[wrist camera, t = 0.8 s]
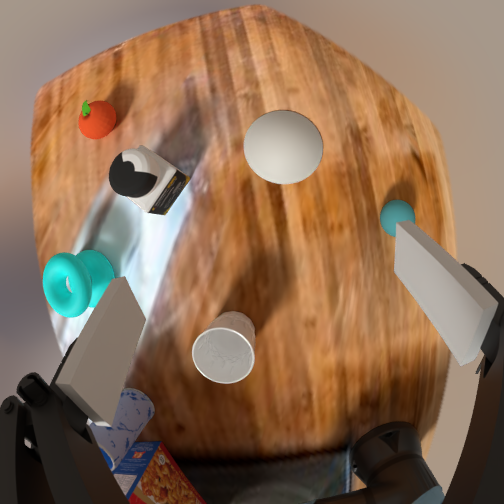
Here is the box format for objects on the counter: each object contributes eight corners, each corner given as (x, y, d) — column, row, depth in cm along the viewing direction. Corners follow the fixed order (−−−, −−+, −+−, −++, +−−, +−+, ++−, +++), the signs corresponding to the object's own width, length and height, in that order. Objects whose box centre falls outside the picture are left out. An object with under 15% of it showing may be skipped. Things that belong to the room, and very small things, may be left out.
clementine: (86, 120, 44) (65, 108, 37) (114, 98, 43) (95, 82, 36) (98, 151, 44) (75, 141, 37) (128, 127, 43) (108, 114, 36)
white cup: (237, 297, 44) (227, 315, 34) (269, 336, 44) (267, 363, 34) (199, 325, 44) (179, 348, 35) (229, 362, 45) (218, 393, 35)
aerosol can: (127, 419, 47) (80, 479, 27) (113, 387, 47) (56, 442, 27) (160, 420, 47) (118, 488, 27) (146, 387, 46) (92, 450, 26)
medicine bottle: (165, 216, 44) (129, 211, 32) (134, 191, 44) (93, 180, 32) (191, 178, 43) (163, 160, 31) (158, 155, 43) (123, 133, 31)
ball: (411, 214, 41) (427, 213, 35) (395, 243, 41) (410, 245, 36) (385, 194, 41) (399, 189, 35) (368, 223, 41) (381, 222, 36)
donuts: (32, 270, 36) (67, 241, 35) (67, 264, 46) (103, 239, 45) (56, 328, 36) (94, 305, 35) (89, 313, 46) (127, 292, 45)
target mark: (336, 137, 41) (336, 136, 41) (296, 199, 42) (296, 199, 42) (270, 98, 41) (270, 98, 41) (228, 157, 42) (228, 157, 42)
